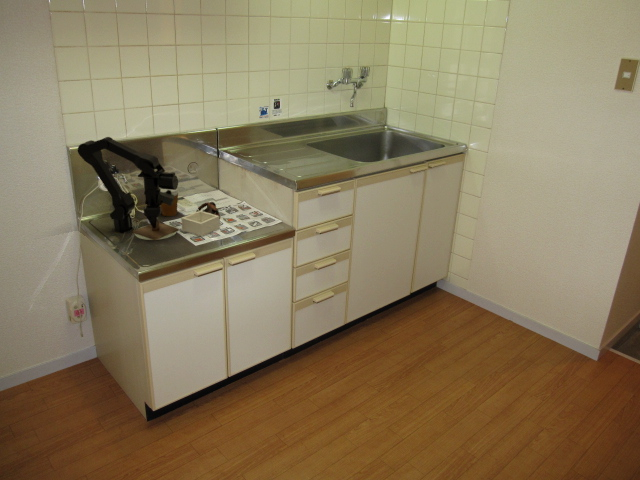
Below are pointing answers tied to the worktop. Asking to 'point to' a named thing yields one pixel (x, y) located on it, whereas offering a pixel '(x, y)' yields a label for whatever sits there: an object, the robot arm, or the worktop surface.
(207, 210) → the brown curved piece
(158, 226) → the walnut lid
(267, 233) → the worktop surface
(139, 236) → the sage mat
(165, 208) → the disposable coffee cup
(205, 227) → the cream open box
